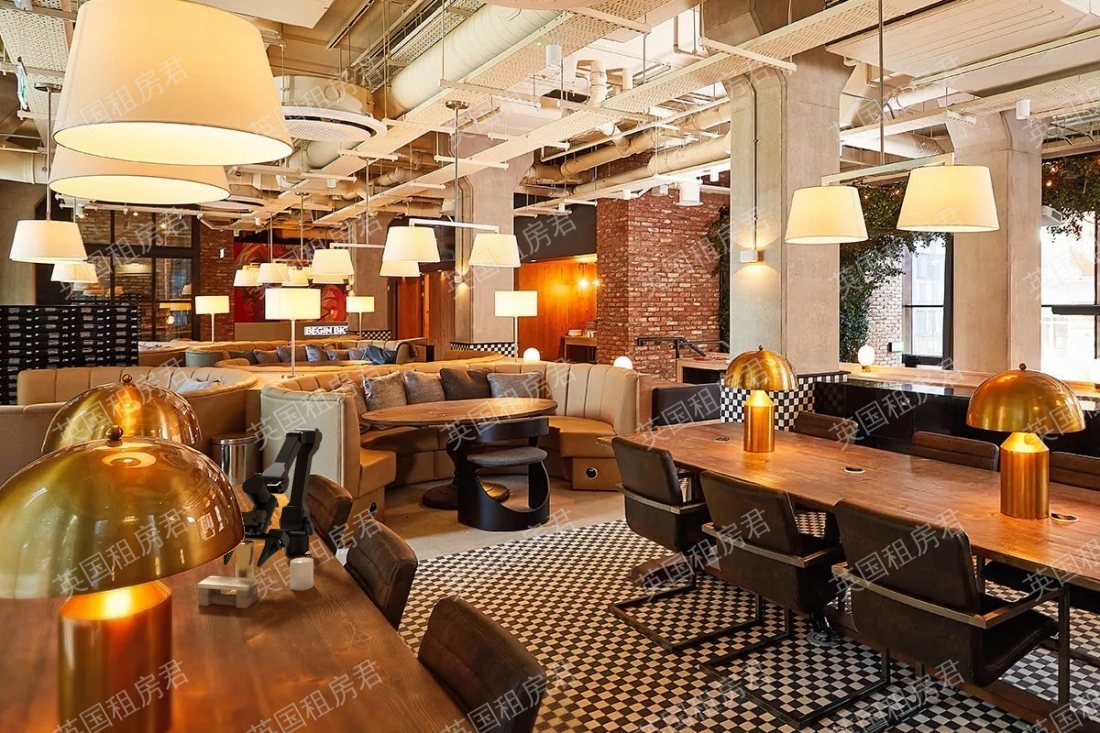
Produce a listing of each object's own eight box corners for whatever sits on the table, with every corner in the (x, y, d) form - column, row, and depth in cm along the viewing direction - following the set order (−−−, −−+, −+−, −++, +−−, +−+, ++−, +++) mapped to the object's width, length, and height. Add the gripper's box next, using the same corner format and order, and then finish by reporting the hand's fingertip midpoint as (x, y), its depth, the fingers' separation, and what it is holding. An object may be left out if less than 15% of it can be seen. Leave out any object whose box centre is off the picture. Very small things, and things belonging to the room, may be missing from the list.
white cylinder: (309, 581, 208) (309, 556, 208) (316, 587, 203) (316, 562, 203) (287, 584, 205) (287, 559, 204) (293, 591, 200) (293, 566, 199)
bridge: (210, 596, 195) (210, 575, 195) (258, 599, 194) (258, 578, 193) (197, 605, 189) (197, 583, 189) (246, 608, 188) (246, 586, 188)
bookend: (239, 586, 203) (239, 538, 202) (260, 587, 202) (260, 540, 201) (216, 601, 192) (216, 551, 191) (239, 603, 191) (239, 553, 190)
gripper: (218, 496, 203) (195, 549, 192) (284, 499, 201) (265, 553, 191) (233, 517, 211) (212, 568, 201) (297, 521, 209) (279, 573, 199)
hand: (241, 565), depth 198 cm, fingers open, 9 cm apart
